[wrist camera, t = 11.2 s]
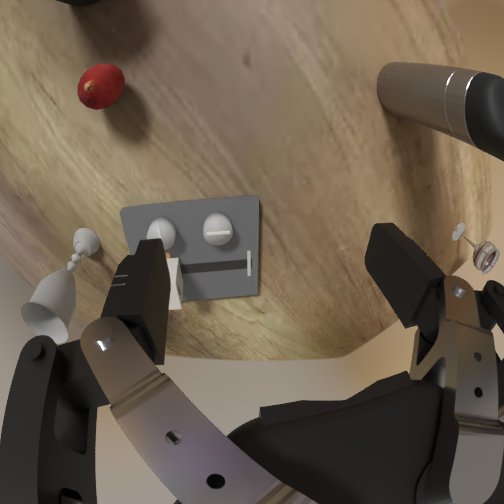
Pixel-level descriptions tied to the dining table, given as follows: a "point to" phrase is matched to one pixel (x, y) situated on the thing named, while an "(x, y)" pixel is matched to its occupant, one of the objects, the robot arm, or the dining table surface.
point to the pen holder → (78, 2)
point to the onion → (101, 86)
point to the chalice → (58, 293)
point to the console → (203, 242)
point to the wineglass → (479, 251)
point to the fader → (175, 283)
